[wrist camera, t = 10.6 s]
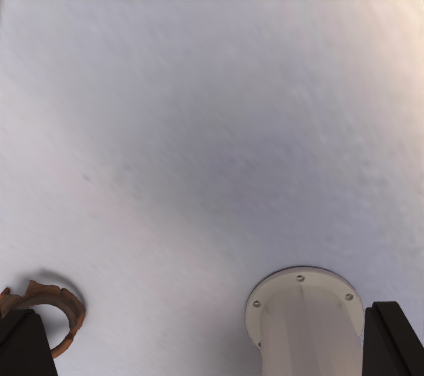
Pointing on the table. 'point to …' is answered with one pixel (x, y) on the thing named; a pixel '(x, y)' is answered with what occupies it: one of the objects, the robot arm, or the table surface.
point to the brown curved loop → (52, 296)
